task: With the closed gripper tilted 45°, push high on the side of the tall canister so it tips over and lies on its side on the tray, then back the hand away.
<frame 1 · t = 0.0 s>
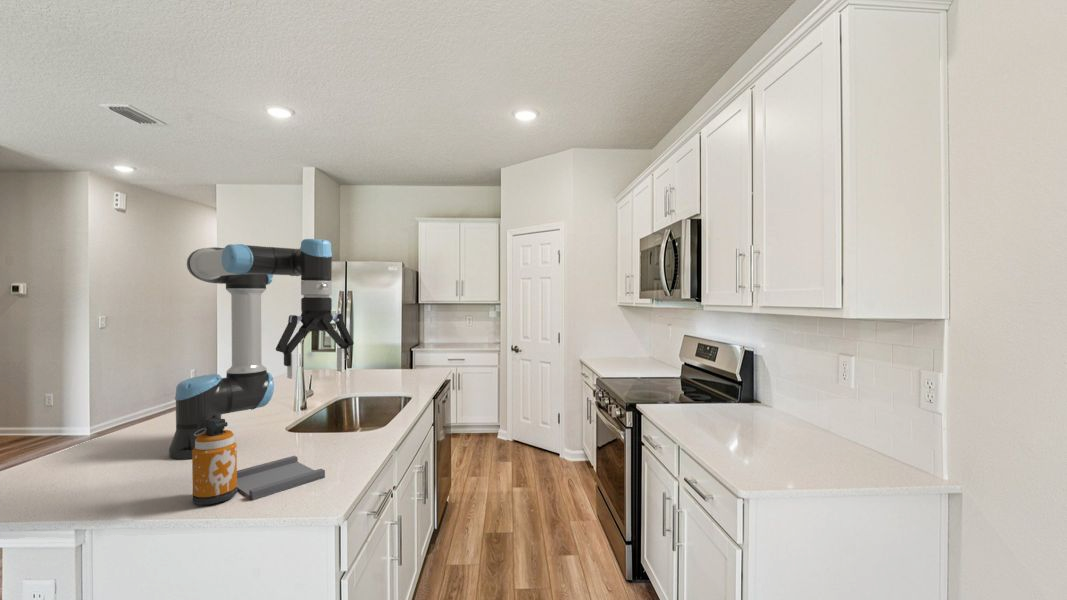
hand: (316, 374, 127), 28 cm above the countertop, tool pointing down, fingers open, 13 cm apart
tray: (275, 479, 126), on the countertop
canister: (213, 498, 115), on the countertop
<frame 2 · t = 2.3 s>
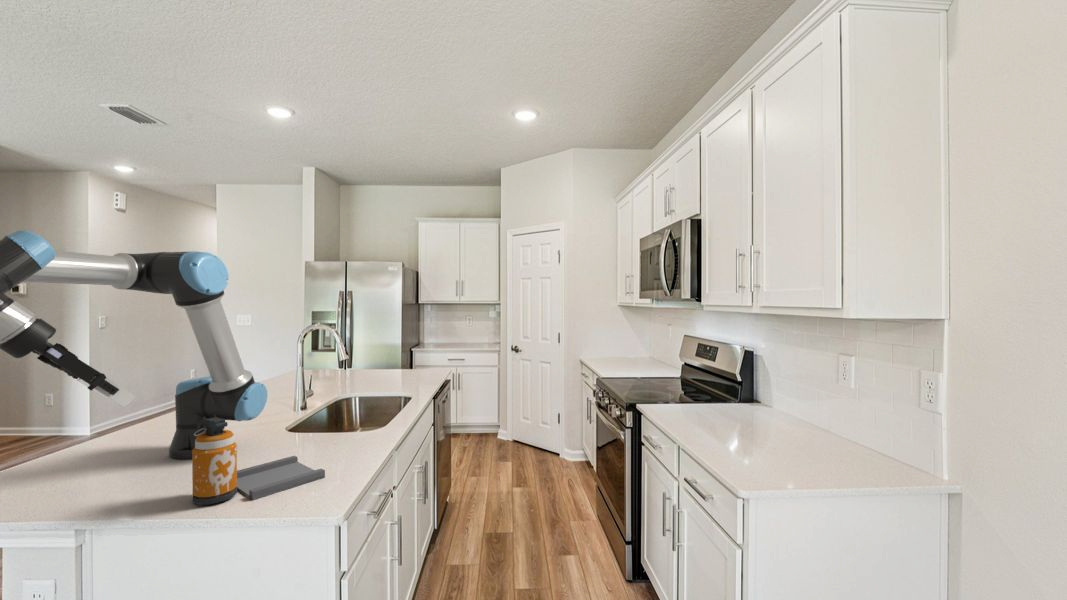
hand: (120, 397, 100), 28 cm above the countertop, tool tilted 45°, fingers open, 13 cm apart
nothing on the countertop moved.
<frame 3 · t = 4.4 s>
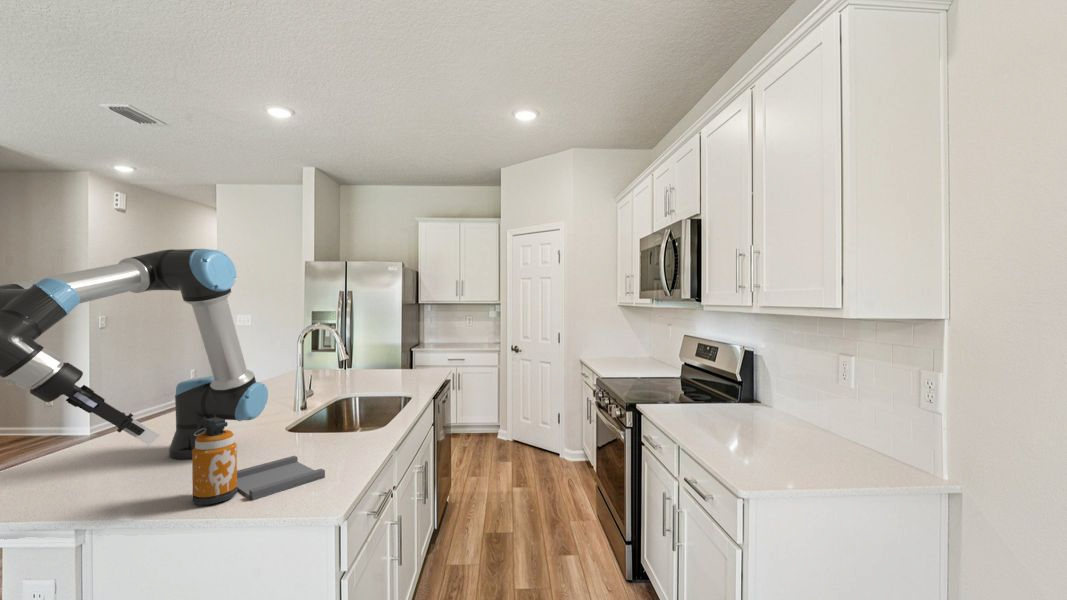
hand: (153, 439, 105), 17 cm above the countertop, tool tilted 45°, fingers closed
nothing on the countertop moved.
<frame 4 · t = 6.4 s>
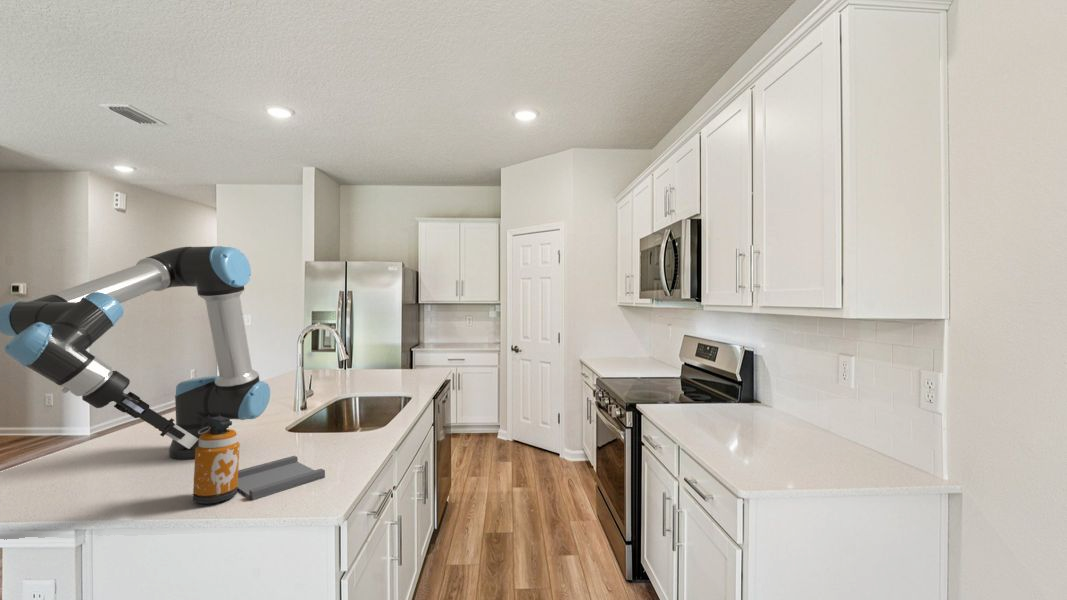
hand: (193, 443, 111), 15 cm above the countertop, tool tilted 45°, fingers closed
canister: (213, 497, 115), on the countertop, touching gripper
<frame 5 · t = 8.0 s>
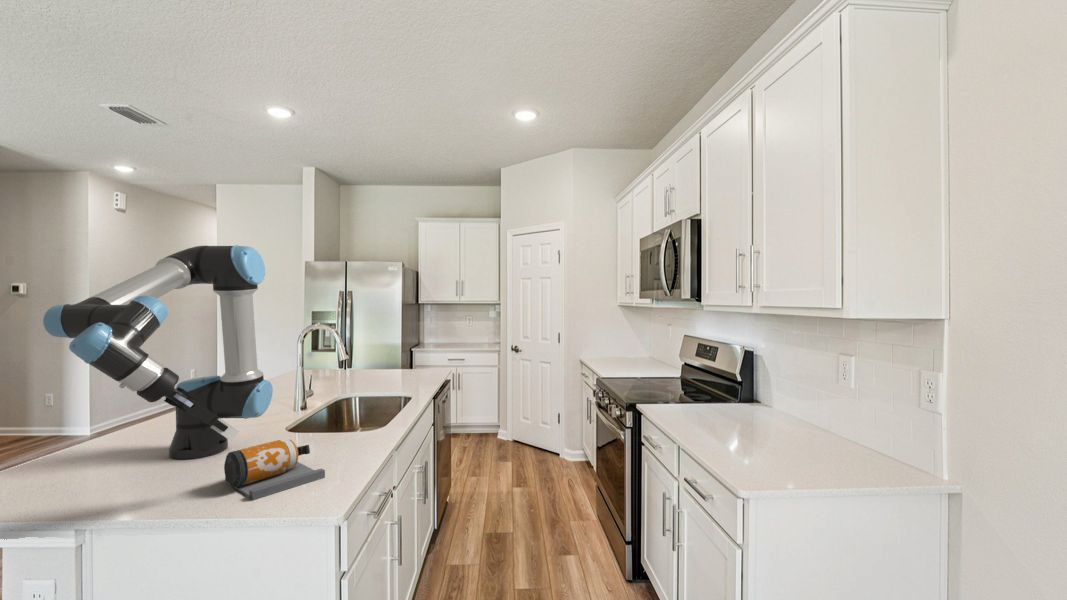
hand: (234, 435, 118), 14 cm above the countertop, tool tilted 45°, fingers closed
canister: (227, 471, 119), point 5 cm above the countertop, touching tray
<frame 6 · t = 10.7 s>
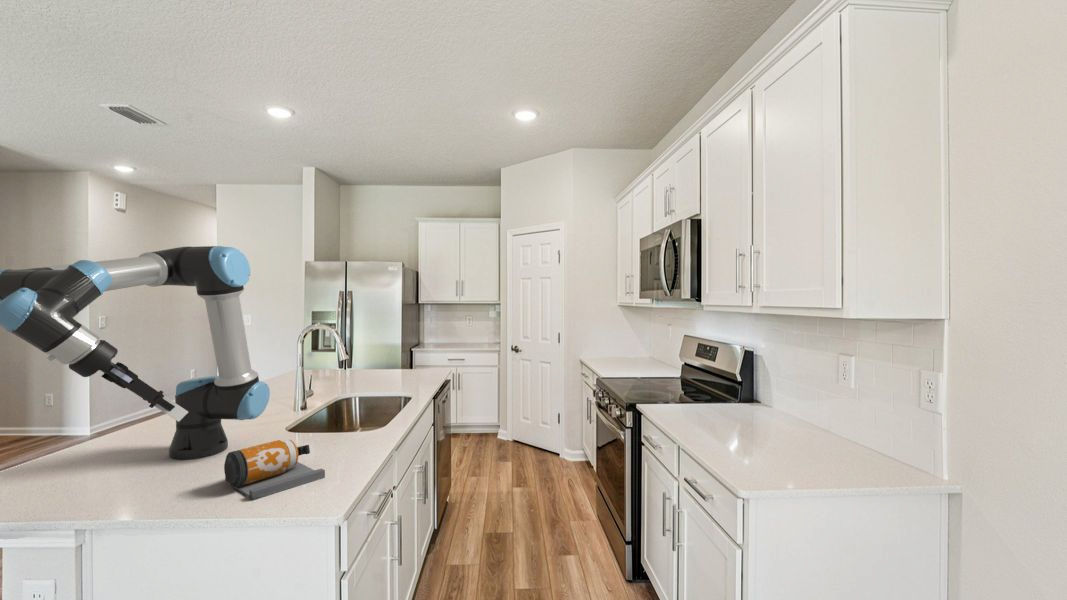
hand: (182, 416, 109), 21 cm above the countertop, tool tilted 45°, fingers closed
nothing on the countertop moved.
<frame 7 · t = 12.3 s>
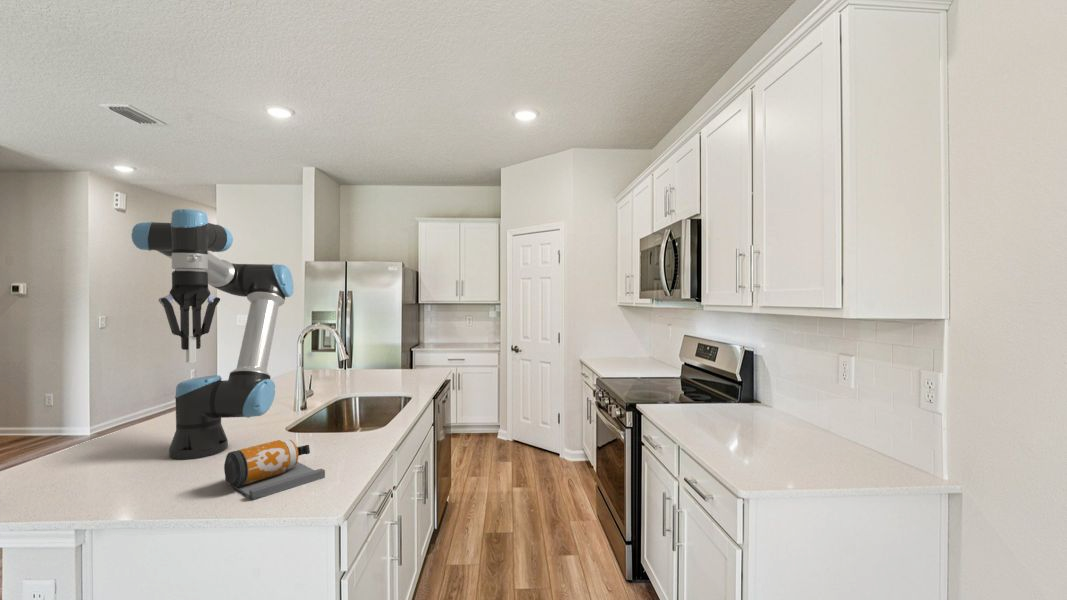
hand: (191, 361, 121), 32 cm above the countertop, tool pointing down, fingers closed
nothing on the countertop moved.
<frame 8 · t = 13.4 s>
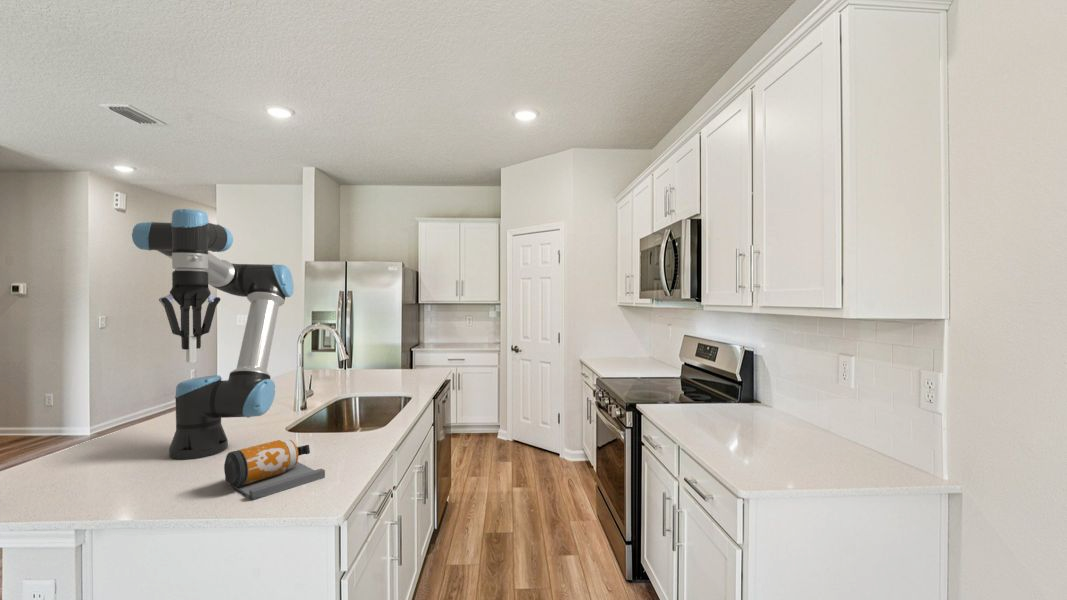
hand: (191, 361, 121), 32 cm above the countertop, tool pointing down, fingers closed
nothing on the countertop moved.
at the end: canister tilted 90°; canister touching tray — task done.
